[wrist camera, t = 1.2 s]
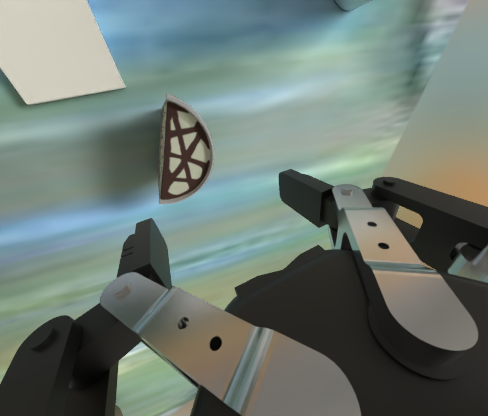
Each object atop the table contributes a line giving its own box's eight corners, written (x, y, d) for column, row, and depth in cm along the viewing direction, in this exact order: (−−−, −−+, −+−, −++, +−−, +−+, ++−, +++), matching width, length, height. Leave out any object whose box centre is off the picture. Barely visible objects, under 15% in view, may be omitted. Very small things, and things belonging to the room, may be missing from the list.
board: (31, -125, 15) (23, -141, 14) (126, 88, 23) (125, 87, 22) (-142, -141, 13) (-166, -162, 12) (32, 104, 21) (27, 104, 20)
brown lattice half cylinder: (195, 184, 33) (209, 209, 25) (157, 181, 30) (159, 208, 22) (205, 109, 28) (227, 110, 20) (162, 96, 25) (167, 91, 17)
